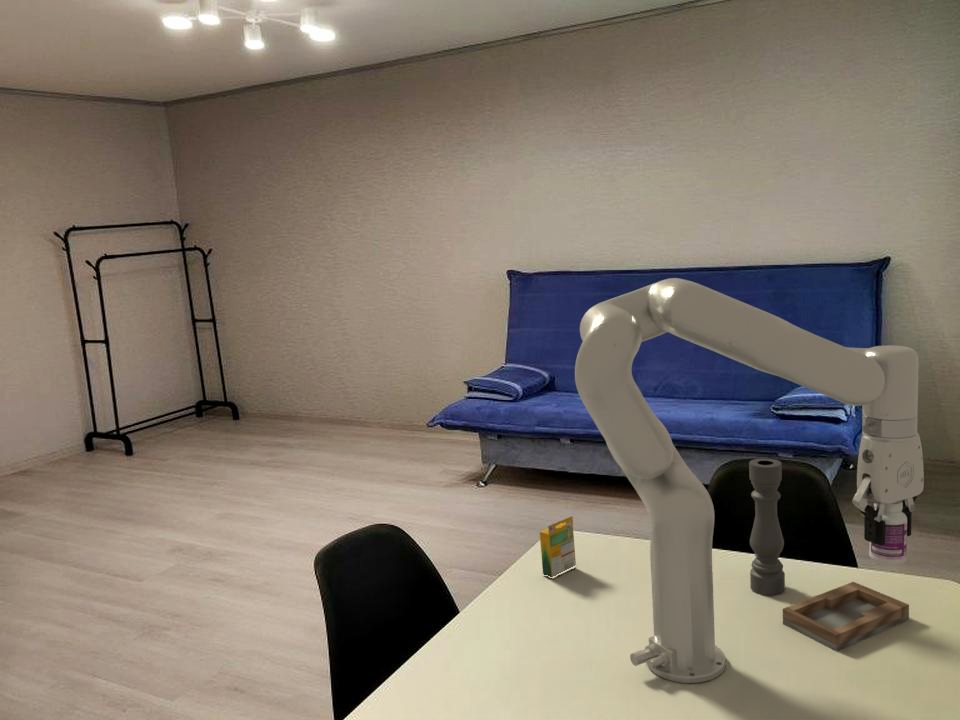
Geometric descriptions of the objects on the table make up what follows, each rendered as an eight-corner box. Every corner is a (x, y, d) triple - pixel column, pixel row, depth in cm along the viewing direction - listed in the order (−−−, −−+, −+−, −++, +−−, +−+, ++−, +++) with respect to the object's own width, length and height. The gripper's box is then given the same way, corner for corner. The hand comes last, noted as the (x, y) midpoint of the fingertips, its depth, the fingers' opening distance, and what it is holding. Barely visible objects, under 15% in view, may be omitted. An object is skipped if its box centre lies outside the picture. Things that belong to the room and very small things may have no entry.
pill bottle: (913, 564, 122) (914, 504, 120) (878, 566, 122) (879, 506, 121) (896, 550, 127) (897, 493, 126) (862, 552, 127) (863, 495, 126)
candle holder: (779, 598, 147) (777, 469, 143) (746, 591, 150) (743, 465, 146) (789, 585, 151) (787, 460, 147) (756, 579, 155) (754, 456, 151)
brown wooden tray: (836, 651, 128) (836, 635, 127) (782, 623, 138) (782, 608, 137) (908, 619, 136) (909, 604, 135) (853, 595, 145) (853, 581, 145)
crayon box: (566, 564, 169) (563, 512, 167) (576, 568, 166) (573, 516, 165) (542, 575, 164) (538, 522, 162) (552, 579, 162) (548, 526, 160)
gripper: (873, 441, 114) (871, 559, 117) (948, 421, 122) (945, 533, 124) (829, 431, 121) (829, 543, 124) (903, 413, 128) (901, 519, 131)
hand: (887, 536), depth 124 cm, fingers closed on pill bottle, 5 cm apart
